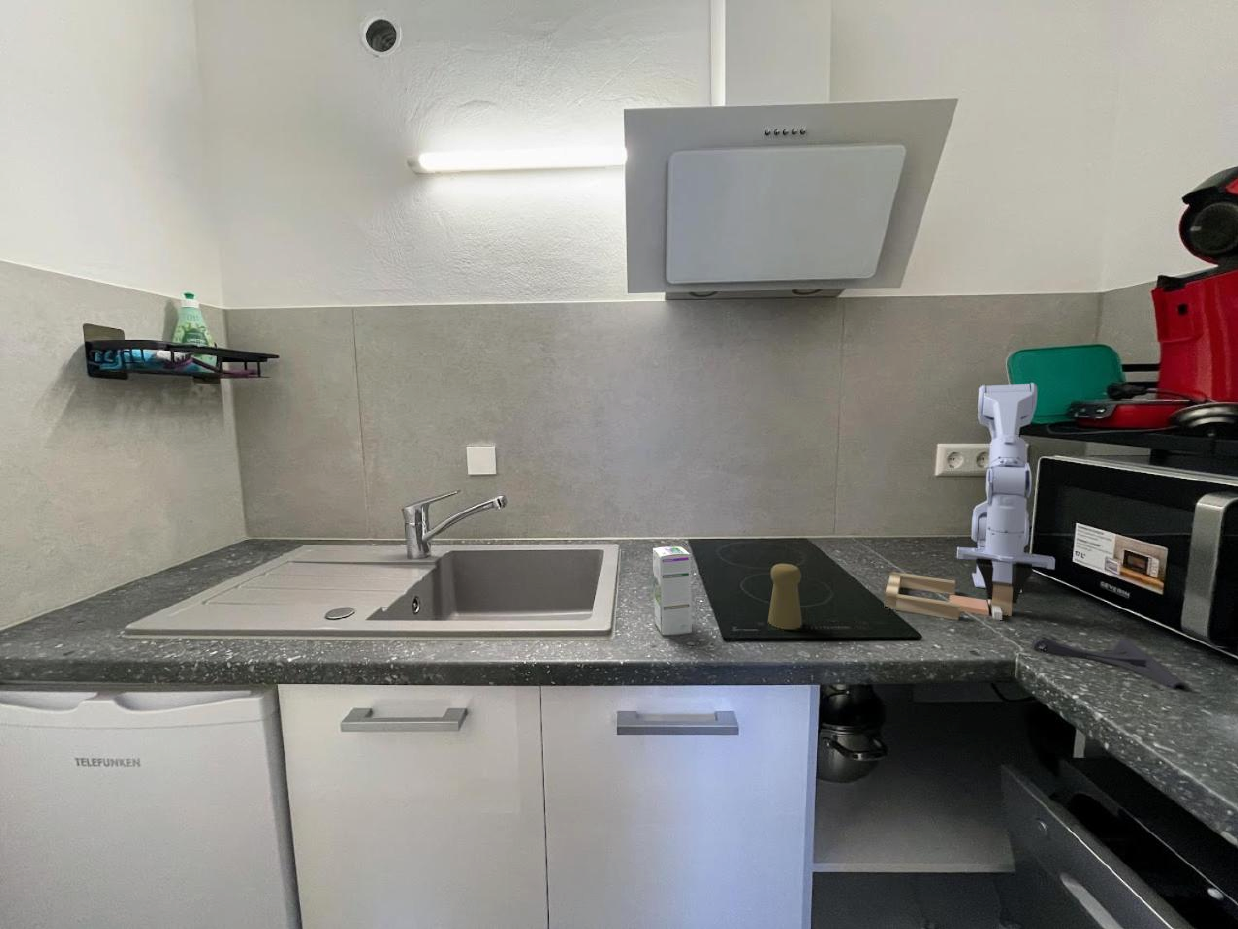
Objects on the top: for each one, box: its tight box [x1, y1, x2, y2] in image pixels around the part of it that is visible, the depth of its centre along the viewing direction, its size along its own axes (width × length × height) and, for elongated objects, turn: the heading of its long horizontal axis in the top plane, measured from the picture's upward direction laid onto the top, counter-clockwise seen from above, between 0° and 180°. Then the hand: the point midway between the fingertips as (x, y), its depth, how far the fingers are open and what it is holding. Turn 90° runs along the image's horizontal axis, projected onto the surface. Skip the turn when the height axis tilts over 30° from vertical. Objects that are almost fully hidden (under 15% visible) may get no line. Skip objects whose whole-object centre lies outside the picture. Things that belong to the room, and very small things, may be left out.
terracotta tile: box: [949, 594, 990, 616], centre depth 97 cm, size 6×6×2 cm
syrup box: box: [652, 545, 693, 636], centre depth 89 cm, size 6×6×14 cm
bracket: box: [1031, 636, 1190, 692], centre depth 76 cm, size 14×15×3 cm
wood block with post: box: [987, 581, 1013, 621], centre depth 94 cm, size 10×3×6 cm, turn 148°
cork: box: [767, 563, 803, 629], centre depth 90 cm, size 6×6×11 cm
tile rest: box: [884, 571, 960, 621], centre depth 101 cm, size 17×12×2 cm
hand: (1000, 599), depth 94 cm, fingers closed on wood block with post, 3 cm apart
